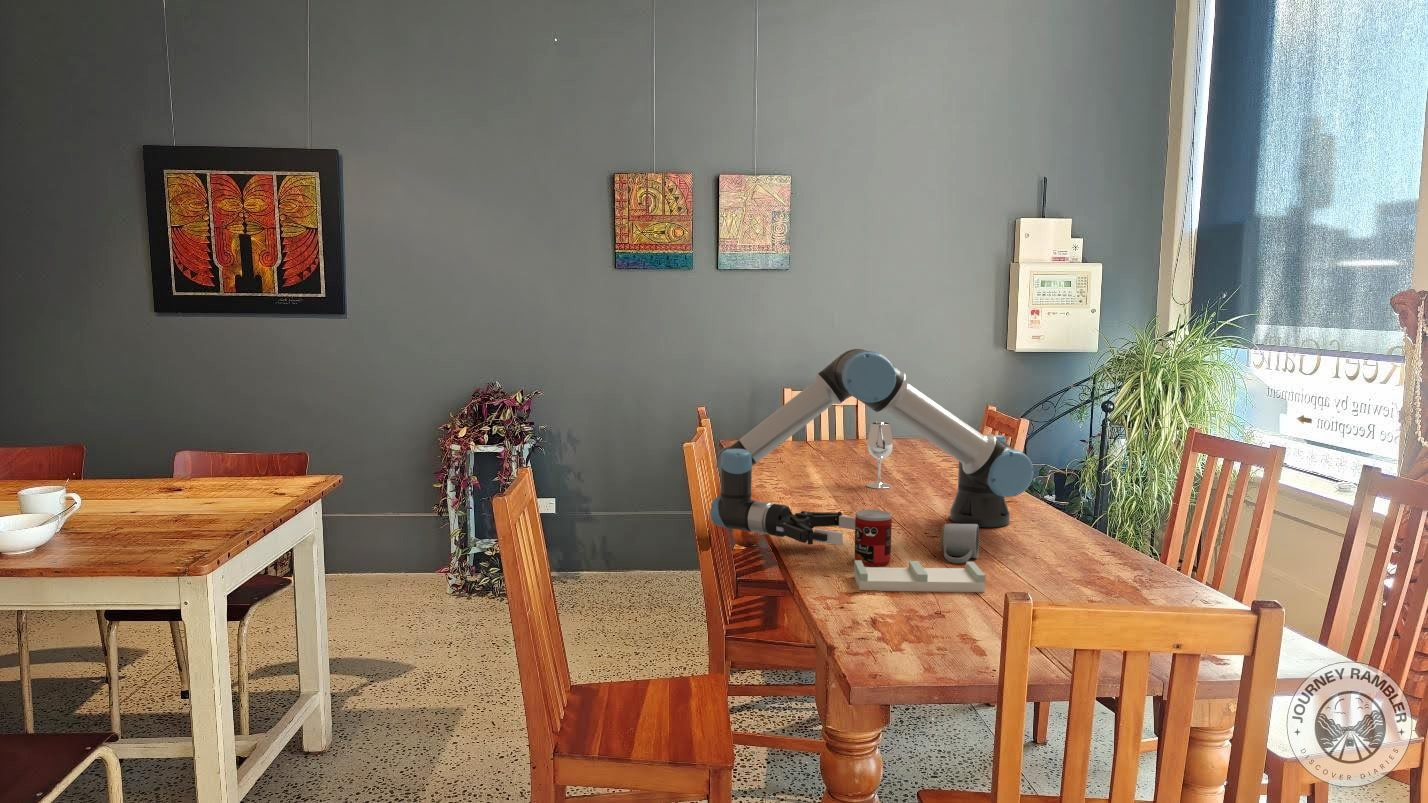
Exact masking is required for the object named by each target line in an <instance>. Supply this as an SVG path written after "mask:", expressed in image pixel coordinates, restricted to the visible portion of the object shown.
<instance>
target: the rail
mask: <svg viewBox="0 0 1428 803" xmlns="http://www.w3.org/2000/svg"><path fill="white" fill-rule="evenodd" d="M853 563H854V564H853V578H854V577H855V578H854V580H855V582H856V585H857V587H858V589H860V590H879V591H878V592H933V593H934V592H936V593H937V592H938V593H939V592H940V593H942V592H943V593H944V592H946V593H948V592H949V593H950V592H951V593H959V592H960V593H985V592H986V574H985V573H984V571H982V570H981V568H980V567H979V566H978V565H977V564H976V563H975V562H974V561H966V562H965V568H962V567H961V568H960V567H956V568H955V567H953V568H951V567H950V568H949V567H945V568H944V567H923V565H921V563H920V561H919V560H908V567H884V566H866V567H865V565H863V563H862V560H855V559H854V561H853ZM860 590H859V591H860Z"/></svg>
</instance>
